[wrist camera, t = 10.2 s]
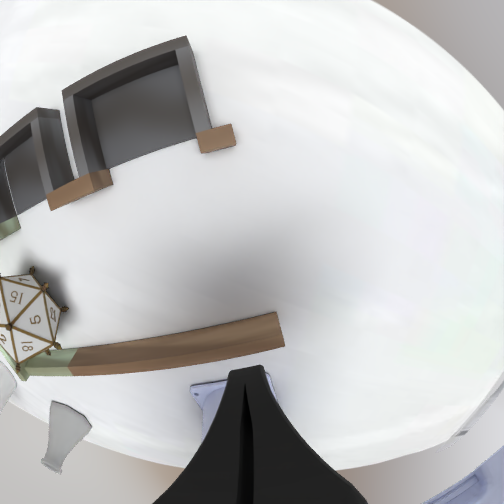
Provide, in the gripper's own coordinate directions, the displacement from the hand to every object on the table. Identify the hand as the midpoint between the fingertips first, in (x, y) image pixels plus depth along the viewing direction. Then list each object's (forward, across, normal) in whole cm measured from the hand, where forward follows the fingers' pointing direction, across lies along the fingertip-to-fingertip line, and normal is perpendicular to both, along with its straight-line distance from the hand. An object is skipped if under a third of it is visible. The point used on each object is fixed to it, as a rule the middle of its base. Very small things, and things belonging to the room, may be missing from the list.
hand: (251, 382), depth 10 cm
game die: (+11, +19, -2) cm, 22 cm away
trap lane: (+10, +13, -6) cm, 17 cm away
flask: (+10, +30, +16) cm, 36 cm away
